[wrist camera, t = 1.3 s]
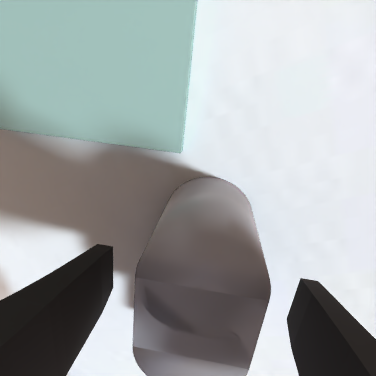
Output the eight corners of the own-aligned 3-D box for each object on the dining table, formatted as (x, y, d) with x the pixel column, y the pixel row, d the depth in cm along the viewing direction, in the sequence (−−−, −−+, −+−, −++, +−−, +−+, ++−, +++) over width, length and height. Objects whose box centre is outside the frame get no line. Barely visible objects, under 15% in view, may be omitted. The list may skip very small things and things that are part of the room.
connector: (227, 332, 14) (229, 435, 10) (157, 319, 14) (130, 413, 10) (261, 184, 11) (286, 242, 7) (169, 171, 11) (136, 219, 7)
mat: (182, 150, 11) (180, 153, 10) (5, 126, 11) (-4, 128, 11) (208, -108, 8) (207, -121, 7) (-35, -120, 8) (-49, -133, 8)
